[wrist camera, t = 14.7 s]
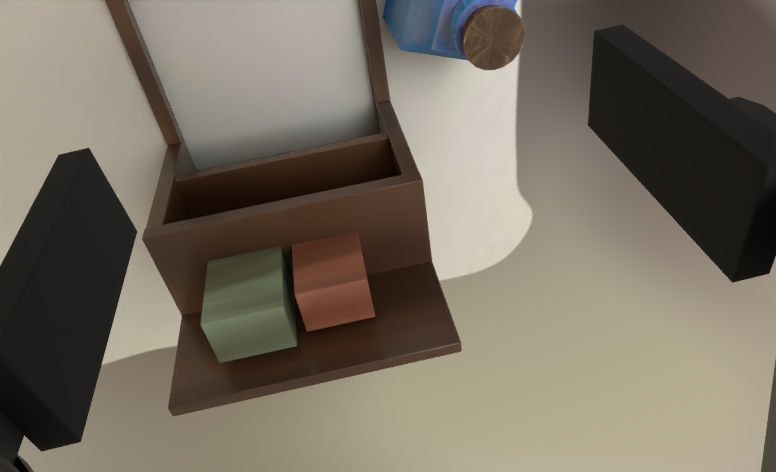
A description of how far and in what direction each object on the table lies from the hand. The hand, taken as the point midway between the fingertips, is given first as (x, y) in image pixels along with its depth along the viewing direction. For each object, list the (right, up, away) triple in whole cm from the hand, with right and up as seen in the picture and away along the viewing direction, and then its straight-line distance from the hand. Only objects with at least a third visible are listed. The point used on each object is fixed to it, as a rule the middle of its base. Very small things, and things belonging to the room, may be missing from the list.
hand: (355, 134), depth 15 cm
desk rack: (-7, +8, +26) cm, 28 cm away
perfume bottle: (+4, +14, +23) cm, 28 cm away
